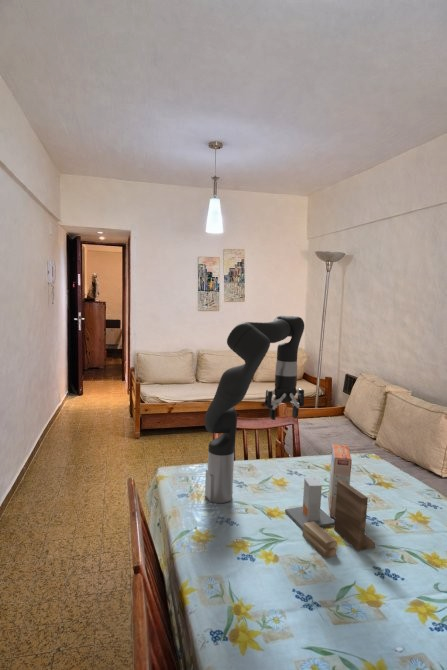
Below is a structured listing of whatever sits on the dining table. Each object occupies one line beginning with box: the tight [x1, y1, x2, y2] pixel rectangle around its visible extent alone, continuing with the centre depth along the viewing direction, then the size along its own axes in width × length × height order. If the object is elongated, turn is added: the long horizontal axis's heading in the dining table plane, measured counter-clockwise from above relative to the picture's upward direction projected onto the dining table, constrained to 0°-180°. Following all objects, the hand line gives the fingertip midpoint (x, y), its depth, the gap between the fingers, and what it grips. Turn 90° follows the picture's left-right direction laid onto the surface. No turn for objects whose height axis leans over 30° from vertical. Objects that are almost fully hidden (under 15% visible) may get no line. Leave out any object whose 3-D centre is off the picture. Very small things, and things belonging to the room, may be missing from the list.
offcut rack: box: [301, 480, 376, 559], centre depth 128 cm, size 18×12×16 cm
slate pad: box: [284, 506, 335, 531], centre depth 142 cm, size 12×12×1 cm
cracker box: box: [327, 443, 353, 518], centre depth 148 cm, size 14×6×21 cm, turn 168°
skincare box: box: [302, 477, 323, 521], centre depth 141 cm, size 6×4×12 cm
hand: (283, 418), depth 151 cm, fingers open, 8 cm apart
